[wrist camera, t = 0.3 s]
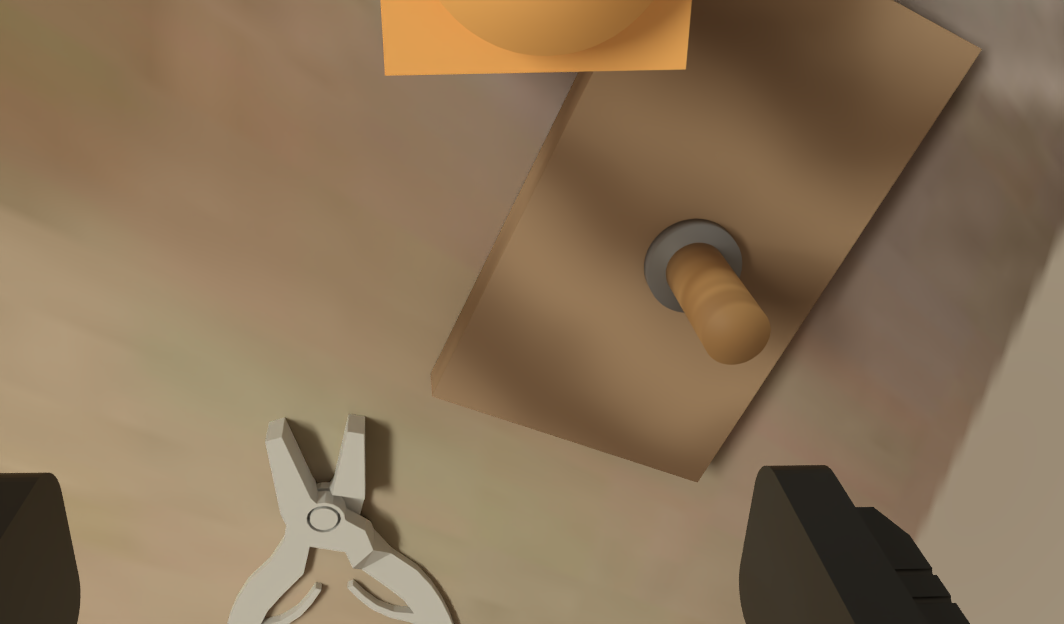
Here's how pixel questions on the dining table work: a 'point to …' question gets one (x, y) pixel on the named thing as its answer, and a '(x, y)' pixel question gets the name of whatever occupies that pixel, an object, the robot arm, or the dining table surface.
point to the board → (694, 223)
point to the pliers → (331, 537)
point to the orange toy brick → (533, 36)
